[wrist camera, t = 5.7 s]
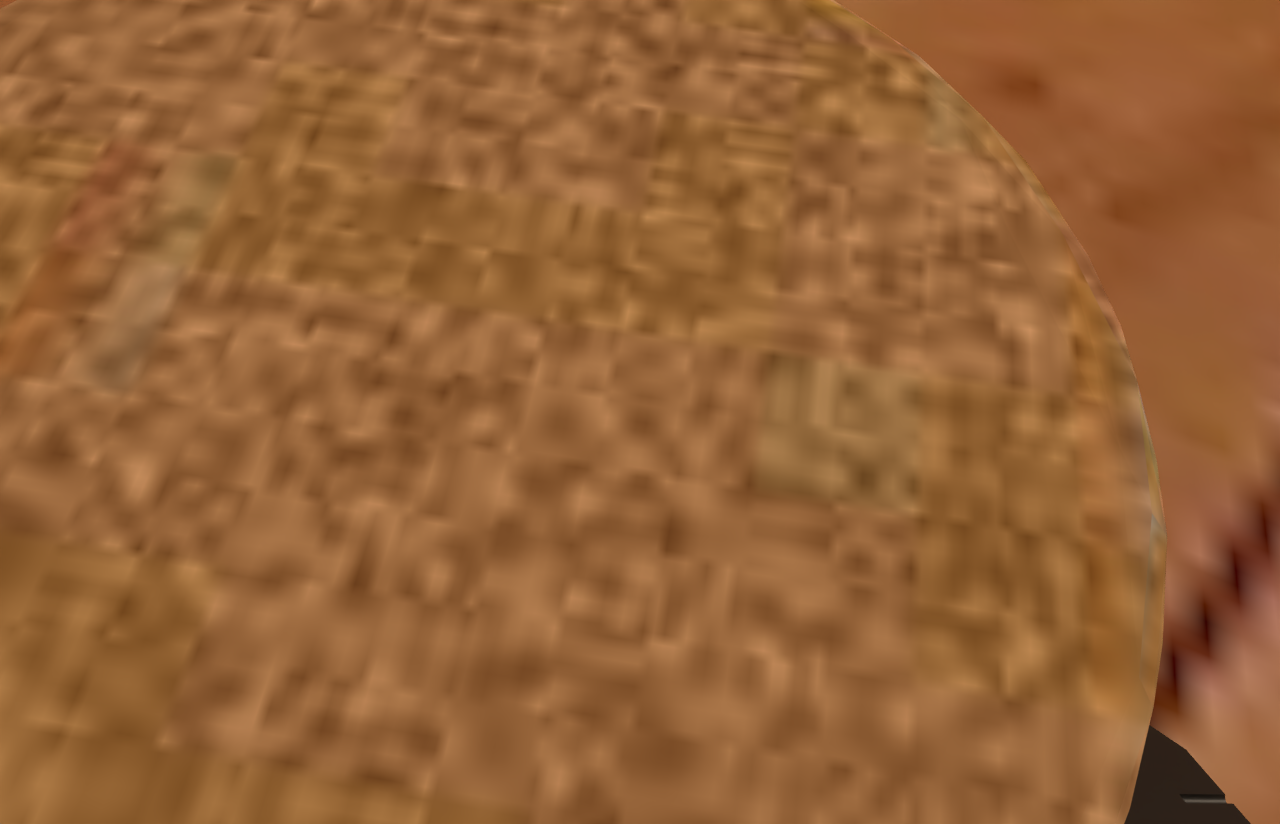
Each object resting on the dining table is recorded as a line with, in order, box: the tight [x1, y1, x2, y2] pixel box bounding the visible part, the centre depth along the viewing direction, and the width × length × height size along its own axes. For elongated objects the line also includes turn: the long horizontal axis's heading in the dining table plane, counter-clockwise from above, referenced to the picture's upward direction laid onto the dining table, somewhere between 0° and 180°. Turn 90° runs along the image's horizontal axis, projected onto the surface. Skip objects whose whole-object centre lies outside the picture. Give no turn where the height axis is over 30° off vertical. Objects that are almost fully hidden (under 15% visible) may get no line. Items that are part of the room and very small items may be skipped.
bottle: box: [0, 0, 1167, 824], centre depth 9 cm, size 6×6×15 cm
